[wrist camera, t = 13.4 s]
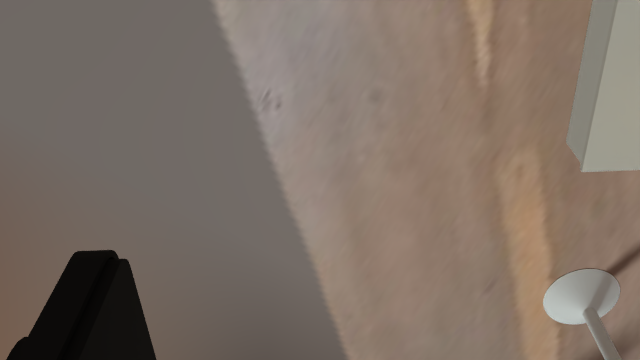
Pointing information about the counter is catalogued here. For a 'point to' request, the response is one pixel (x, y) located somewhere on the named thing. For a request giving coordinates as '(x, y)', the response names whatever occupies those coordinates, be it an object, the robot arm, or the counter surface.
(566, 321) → the champagne flute
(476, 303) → the counter surface
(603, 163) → the riser
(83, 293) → the robot arm
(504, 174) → the counter surface
